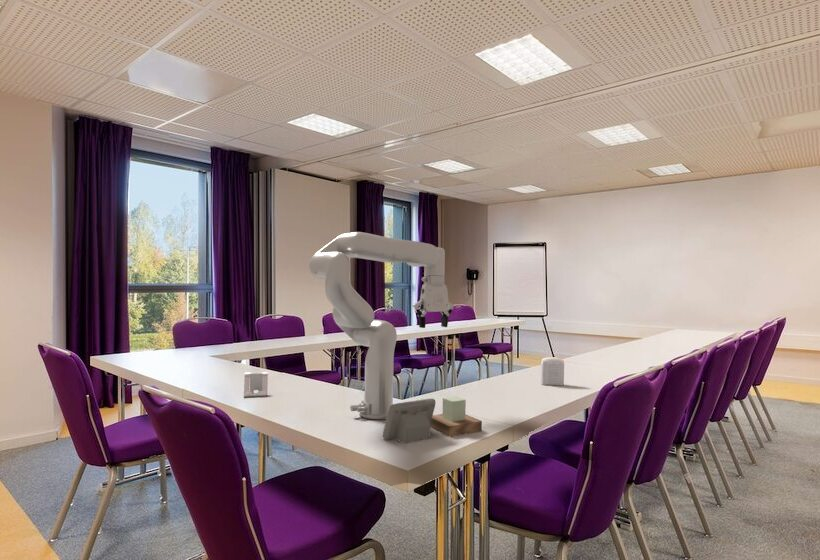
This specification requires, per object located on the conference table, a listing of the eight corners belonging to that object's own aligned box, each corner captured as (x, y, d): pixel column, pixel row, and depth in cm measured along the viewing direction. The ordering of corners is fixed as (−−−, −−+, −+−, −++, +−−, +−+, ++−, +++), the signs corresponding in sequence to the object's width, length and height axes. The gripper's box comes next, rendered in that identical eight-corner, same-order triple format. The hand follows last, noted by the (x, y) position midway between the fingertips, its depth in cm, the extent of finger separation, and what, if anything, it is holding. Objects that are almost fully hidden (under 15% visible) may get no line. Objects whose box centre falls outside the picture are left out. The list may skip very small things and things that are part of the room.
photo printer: (562, 384, 216) (562, 356, 217) (565, 386, 212) (565, 358, 212) (539, 383, 217) (539, 356, 217) (541, 385, 213) (542, 357, 213)
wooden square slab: (448, 436, 138) (449, 426, 138) (426, 425, 148) (427, 416, 148) (481, 431, 144) (481, 421, 144) (458, 420, 154) (458, 411, 154)
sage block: (451, 421, 143) (452, 401, 143) (442, 417, 147) (442, 398, 147) (465, 419, 145) (465, 399, 145) (455, 415, 149) (456, 396, 150)
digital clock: (428, 430, 144) (428, 394, 144) (442, 439, 136) (442, 401, 136) (377, 436, 138) (378, 399, 138) (389, 446, 129) (390, 406, 129)
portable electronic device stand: (243, 397, 181) (244, 375, 181) (244, 393, 188) (245, 371, 188) (267, 396, 183) (267, 374, 183) (267, 392, 191) (267, 371, 191)
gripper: (419, 280, 168) (418, 328, 168) (459, 281, 177) (458, 327, 177) (408, 280, 175) (408, 327, 175) (447, 281, 183) (447, 325, 183)
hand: (433, 327), depth 176 cm, fingers open, 9 cm apart
